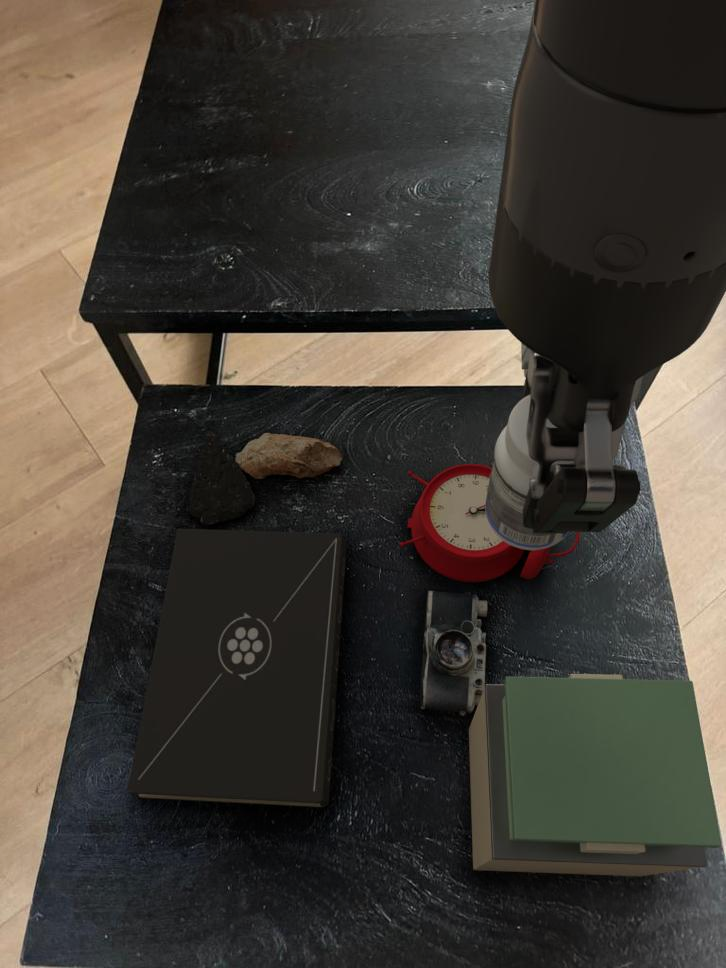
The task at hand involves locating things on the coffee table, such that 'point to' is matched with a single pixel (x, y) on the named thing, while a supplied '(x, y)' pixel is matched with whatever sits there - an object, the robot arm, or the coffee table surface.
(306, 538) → the book
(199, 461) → the arrowhead
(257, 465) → the tan elongated rock
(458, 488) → the alarm clock
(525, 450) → the pill bottle
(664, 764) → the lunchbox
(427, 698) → the camera
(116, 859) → the coffee table surface
